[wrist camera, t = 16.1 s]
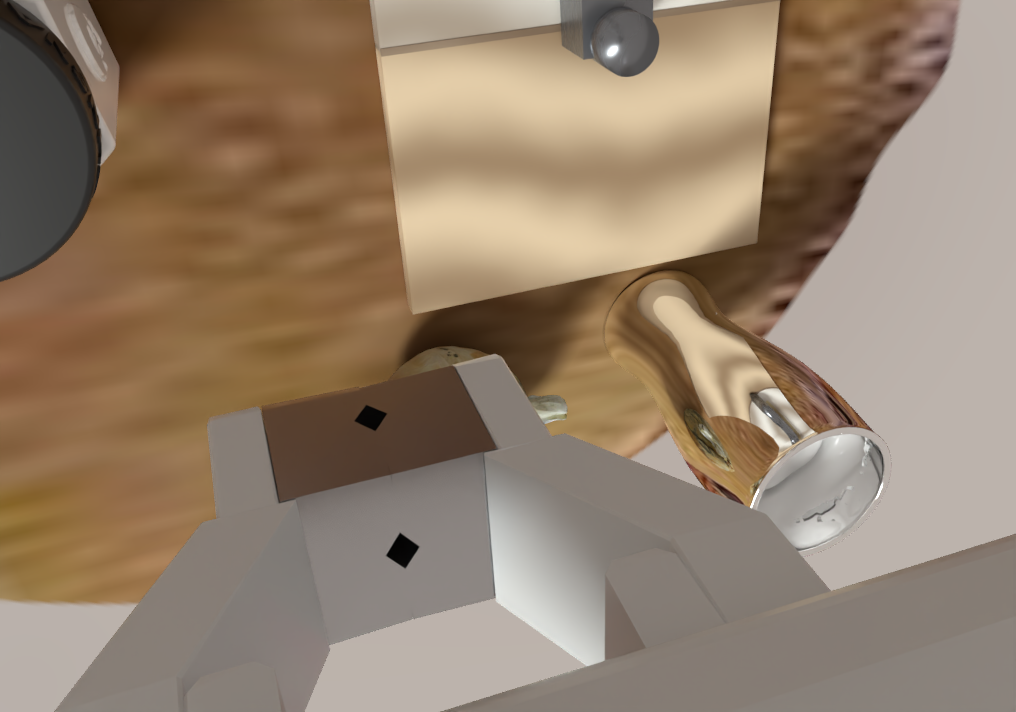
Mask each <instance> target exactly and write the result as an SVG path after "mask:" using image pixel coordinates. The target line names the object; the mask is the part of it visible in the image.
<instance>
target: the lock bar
mask: <svg viewBox="0 0 1016 712" xmlns="http://www.w3.org/2000/svg"><path fill="white" fill-rule="evenodd" d="M560 17H561V40H562V46H563V47H565V48H566V49H568V50H569V51H571V52H572V53H574V54H575V55H577V56H578V57H580V58H581V59H583V60H586V59H592V60H594V61H595V62H597V63H598V64H600V65H601V66H603V67H605V68H606V69H608V70H609V71H611V72H612V73H614V74H616V75H618V76H621V77H632V76H636V75H638V74H640V73H642V72H643V71H645V70H646V69H647V68H648V67H649V66H650V65H651V63H652V62H653V61H654V59H655V57H656V55H657V52H658V48H659V33H658V29H657V27H656V25H655V24H654V22H653V0H560Z"/></svg>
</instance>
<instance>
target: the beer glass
mask: <svg viewBox="0 0 1016 712" xmlns="http://www.w3.org/2000/svg"><path fill="white" fill-rule="evenodd" d="M604 338H605V344H606V348H607V350H608V353H609V355H610V356H611V358H612V359H613V360H614V361H615V362H616V363H617V364H618V365H619V366H620V367H621V368H623V369H624V370H626V371H627V372H629V373H630V374H632V375H633V376H634V377H636V378H637V379H638V380H640V381H641V382H642V383H643V385H644V386H645V387H646V388H647V389H648V391H649V392H650V394H651V395H652V397H653V399H654V401H655V403H656V405H657V407H658V409H659V411H660V413H661V415H662V417H663V420H664V422H665V424H666V426H667V428H668V430H669V432H670V434H671V436H672V438H673V440H674V442H675V444H676V446H677V448H678V450H679V451H680V453H681V455H682V456H683V458H684V460H685V462H686V464H687V465H688V467H689V468H690V470H691V471H692V472H693V474H694V475H695V476H696V478H697V479H698V481H699V482H700V483H701V485H702V486H703V487H704V489H705V490H707V491H710V492H712V493H715V494H717V495H720V496H722V497H725V498H727V499H730V500H732V501H735V502H737V503H740V504H742V505H745V506H747V507H750V508H752V509H755V510H757V511H760V512H762V513H765V514H767V516H768V517H769V518H770V519H771V520H772V522H773V523H774V524H775V525H776V526H777V527H778V529H779V530H780V531H781V532H782V533H783V535H784V536H785V537H786V538H787V539H788V541H789V542H790V543H791V544H792V545H793V546H794V548H795V549H796V550H797V551H798V552H799V554H800V555H801V556H802V557H806V556H810V555H813V554H816V553H819V552H821V551H824V550H826V549H828V548H830V547H832V546H834V545H836V544H837V543H839V542H840V541H842V540H844V539H845V538H846V537H847V536H849V535H850V534H852V533H853V532H854V531H855V530H856V529H857V528H859V527H860V526H861V525H862V524H863V523H864V521H866V520H867V518H868V517H869V516H870V515H871V513H872V512H873V511H874V510H875V508H876V507H877V505H878V504H879V502H880V501H881V499H882V497H883V495H884V493H885V491H886V488H887V486H888V483H889V480H890V475H891V466H892V463H891V455H890V451H889V449H888V446H887V445H886V443H885V442H884V440H883V439H882V438H881V437H880V436H879V435H877V434H876V433H875V432H874V431H873V430H872V429H871V428H870V427H869V426H868V425H867V424H866V423H865V421H864V420H863V419H862V418H861V417H860V416H859V415H858V413H856V411H855V410H854V409H853V408H852V407H851V406H850V405H849V404H848V403H847V402H846V401H845V400H844V398H842V396H841V395H839V394H838V393H837V392H836V391H835V390H834V389H833V388H832V387H831V386H830V385H829V384H828V383H827V382H826V381H825V380H824V379H823V378H821V377H820V376H819V375H818V374H816V373H815V372H814V371H813V370H811V369H810V368H809V367H808V366H807V365H805V364H804V363H803V362H801V361H800V360H798V359H797V358H795V357H794V356H792V355H790V354H789V353H787V352H786V351H784V350H783V349H781V348H779V347H777V346H776V345H774V344H772V343H770V342H768V341H767V340H765V339H763V338H761V337H759V336H757V335H755V334H753V333H752V332H750V331H748V330H746V329H744V328H742V327H741V326H739V325H737V324H735V323H734V322H732V321H731V320H729V319H728V318H727V317H726V316H724V315H723V314H722V313H721V311H720V310H719V309H718V307H717V306H716V304H715V302H714V301H713V299H712V297H711V296H710V294H709V293H708V291H707V290H706V288H705V287H704V286H703V285H702V284H701V283H700V282H699V281H698V280H697V279H696V278H695V277H693V276H691V275H689V274H687V273H684V272H681V271H675V270H665V271H659V272H655V273H652V274H649V275H646V276H644V277H642V278H640V279H639V280H637V281H635V282H634V283H633V284H631V285H630V286H629V287H628V288H626V289H625V290H624V291H623V292H622V293H621V295H620V296H619V297H618V298H617V300H616V301H615V303H614V304H613V306H612V308H611V309H610V312H609V314H608V317H607V320H606V323H605V330H604Z"/></svg>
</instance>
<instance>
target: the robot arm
mask: <svg viewBox="0 0 1016 712" xmlns="http://www.w3.org/2000/svg"><path fill="white" fill-rule="evenodd" d="M262 412H263V415H262ZM262 412H261V409H260V408H259V407H253V408H249V409H245V410H240V411H236V412H232V413H227V414H223V415H219V416H214V417H210V418H209V421H208V424H207V428H208V438H209V448H210V457H211V467H212V477H213V487H214V497H215V507H216V517H217V519H214V520H210V521H206V522H202V523H201V524H200V525H199V527H198V528H197V529H196V531H195V532H194V533H193V534H192V536H191V537H190V538H189V539H188V541H187V542H186V543H185V545H184V546H183V547H182V548H181V550H180V551H179V552H178V554H177V555H176V556H175V557H174V559H173V560H172V561H171V563H170V564H169V565H168V566H167V568H166V569H165V570H164V572H163V573H162V574H161V575H160V577H159V578H158V579H157V580H156V582H155V583H154V584H153V586H152V587H151V588H150V589H149V591H148V592H147V593H146V595H145V596H144V597H143V598H142V600H141V601H140V602H139V604H138V605H137V606H136V607H135V609H134V610H133V611H132V613H131V614H130V615H129V617H128V618H127V619H126V620H125V622H124V623H123V624H122V625H121V627H120V628H119V629H118V630H117V632H116V633H115V634H114V636H113V637H112V638H111V639H110V641H109V642H108V643H107V645H106V646H105V647H104V648H103V650H102V651H101V652H100V654H99V655H98V656H97V657H96V659H95V660H94V661H93V662H92V664H91V665H90V666H89V668H88V669H87V670H86V671H85V673H84V674H83V675H82V677H81V678H80V679H79V680H78V682H77V683H76V684H75V686H74V687H73V688H72V689H71V691H70V692H69V693H68V695H67V696H66V697H65V698H64V700H63V701H62V702H61V703H60V705H59V706H58V708H57V709H56V710H55V711H54V712H305V709H306V707H307V704H308V702H309V700H310V697H311V695H312V692H313V690H314V687H315V685H316V683H317V680H318V678H319V675H320V673H321V671H322V668H323V666H324V663H325V661H326V658H327V656H328V653H329V651H330V648H329V645H331V644H334V643H337V642H341V641H344V640H347V639H350V638H353V637H357V636H360V635H363V634H366V633H370V632H373V631H376V630H379V629H383V628H386V627H389V626H392V625H395V624H398V623H402V622H405V621H408V620H411V619H415V618H419V617H423V616H426V615H431V614H435V613H439V612H442V611H446V610H450V609H454V608H458V607H462V606H466V605H470V604H474V603H478V602H481V601H486V600H490V599H493V598H496V602H497V603H499V604H500V605H502V606H503V607H505V608H506V609H507V610H509V611H510V612H512V613H513V614H515V615H516V616H517V617H519V618H520V619H521V620H523V621H524V622H526V623H527V624H528V625H530V626H531V627H533V628H534V629H535V630H537V631H538V632H540V633H541V634H542V635H544V636H545V637H547V638H548V639H550V640H551V641H552V642H554V643H555V644H557V645H558V646H559V647H561V648H562V649H564V650H565V651H566V652H568V653H569V654H571V655H572V656H574V657H575V658H576V659H578V660H579V661H581V662H582V663H583V664H585V665H586V667H583V668H580V669H577V670H573V671H570V672H567V673H564V674H560V675H557V676H554V677H551V678H548V679H544V680H541V681H538V682H535V683H532V684H528V685H525V686H522V687H519V688H515V689H512V690H509V691H506V692H502V693H499V694H496V695H493V696H490V697H486V698H483V699H480V700H477V701H473V702H471V703H467V704H464V705H461V706H457V707H454V708H451V709H448V710H445V711H441V712H1016V534H1013V535H1010V536H1007V537H1004V538H1001V539H998V540H994V541H991V542H988V543H985V544H981V545H978V546H975V547H972V548H969V549H966V550H962V551H959V552H956V553H953V554H950V555H947V556H943V557H940V558H937V559H934V560H931V561H927V562H924V563H921V564H918V565H914V566H911V567H908V568H905V569H902V570H898V571H895V572H892V573H888V574H885V575H882V576H879V577H876V578H872V579H869V580H866V581H862V582H859V583H856V584H853V585H850V586H846V587H843V588H840V589H837V590H833V591H831V590H830V589H829V588H828V587H827V586H826V584H825V583H824V582H823V581H822V580H821V579H820V578H819V576H818V575H817V574H816V573H815V571H814V570H813V569H812V568H811V567H810V565H809V564H808V563H807V562H806V561H805V560H804V558H803V557H802V556H801V555H800V554H799V552H798V551H797V550H796V549H795V548H794V546H793V545H792V544H791V543H790V542H789V541H788V539H787V538H786V537H785V536H784V535H783V533H782V532H781V531H780V530H779V529H778V527H777V526H776V525H775V524H774V523H773V522H772V520H771V519H770V518H769V517H768V516H767V514H765V513H762V512H760V511H757V510H755V509H752V508H750V507H747V506H745V505H742V504H740V503H737V502H735V501H732V500H730V499H727V498H725V497H722V496H720V495H717V494H715V493H712V492H710V491H707V490H705V489H702V488H700V487H697V486H695V485H692V484H690V483H687V482H685V481H682V480H680V479H677V478H675V477H672V476H670V475H667V474H665V473H662V472H660V471H657V470H655V469H652V468H650V467H647V466H645V465H642V464H640V463H637V462H635V461H632V460H630V459H627V458H625V457H622V456H620V455H617V454H615V453H612V452H610V451H607V450H605V449H602V448H600V447H598V446H595V445H593V444H590V443H588V442H585V441H583V440H580V439H578V438H575V437H573V436H570V435H568V434H560V435H556V436H551V434H550V433H549V431H548V429H547V428H546V426H545V425H544V423H543V421H542V420H541V418H540V417H539V415H538V414H537V412H536V410H535V409H534V407H533V406H532V404H531V402H530V401H529V399H528V398H527V396H526V394H525V393H524V391H523V390H522V388H521V387H520V385H519V383H518V382H517V380H516V379H515V377H514V375H513V374H512V372H511V371H510V369H509V368H508V366H507V364H506V363H505V361H504V360H503V358H502V357H501V356H499V355H497V354H492V355H488V356H484V357H480V358H477V359H473V360H469V361H465V362H461V363H457V364H453V365H451V366H447V367H443V368H439V369H435V370H431V371H427V372H423V373H419V374H415V375H411V376H407V377H403V378H398V379H394V380H390V381H386V382H382V383H378V384H374V385H370V386H366V387H362V388H359V387H355V388H350V389H345V390H340V391H335V392H330V393H325V394H320V395H315V396H310V397H305V398H300V399H295V400H290V401H285V402H280V403H275V404H270V405H265V406H262ZM263 418H264V419H263Z"/></svg>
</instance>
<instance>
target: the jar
mask: <svg viewBox="0 0 1016 712" xmlns="http://www.w3.org/2000/svg"><path fill="white" fill-rule="evenodd" d="M119 76H120V67H119V65H118V63H117V60H116V58H115V56H114V54H113V52H112V50H111V48H110V46H109V44H108V42H107V40H106V37H105V35H104V33H103V31H102V29H101V27H100V25H99V23H98V21H97V19H96V17H95V14H94V12H93V10H92V8H91V6H90V4H89V2H88V0H0V282H1V281H4V280H8V279H11V278H13V277H15V276H18V275H20V274H23V273H25V272H27V271H29V270H30V269H32V268H34V267H36V266H38V265H39V264H41V263H42V262H44V261H45V260H47V259H48V258H49V257H50V256H52V255H53V254H54V253H55V252H57V251H58V250H59V249H60V248H61V247H62V246H63V245H64V244H65V243H66V242H67V241H68V239H69V238H70V237H71V236H72V235H73V233H74V232H75V231H76V229H77V228H78V226H79V225H80V223H81V221H82V220H83V218H84V216H85V214H86V212H87V210H88V207H89V205H90V202H91V199H92V197H93V196H94V193H95V190H96V187H97V183H98V179H99V173H100V166H101V165H102V164H103V163H104V162H105V160H106V159H107V158H108V157H109V156H110V154H111V153H112V152H113V151H114V149H115V146H116V130H117V112H118V94H119Z"/></svg>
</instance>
